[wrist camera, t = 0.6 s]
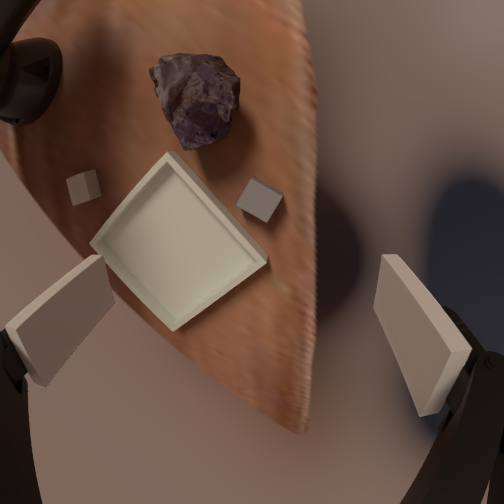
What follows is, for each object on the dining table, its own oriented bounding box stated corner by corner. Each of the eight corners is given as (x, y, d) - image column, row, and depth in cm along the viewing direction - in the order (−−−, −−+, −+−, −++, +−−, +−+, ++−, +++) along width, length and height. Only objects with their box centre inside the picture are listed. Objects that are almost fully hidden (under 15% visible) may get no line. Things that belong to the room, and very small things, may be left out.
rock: (190, 152, 35) (262, 117, 32) (168, 168, 28) (261, 123, 25) (149, 76, 30) (220, 36, 27) (117, 73, 22) (205, 19, 20)
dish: (98, 237, 39) (89, 243, 37) (174, 150, 34) (167, 151, 31) (178, 322, 43) (173, 332, 41) (267, 255, 37) (266, 262, 35)
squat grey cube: (239, 200, 35) (235, 205, 33) (253, 175, 34) (250, 178, 31) (268, 216, 36) (266, 222, 33) (282, 192, 35) (282, 196, 32)
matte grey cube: (78, 175, 36) (65, 179, 33) (95, 169, 36) (83, 171, 33) (84, 201, 37) (72, 206, 35) (102, 195, 37) (90, 200, 34)
